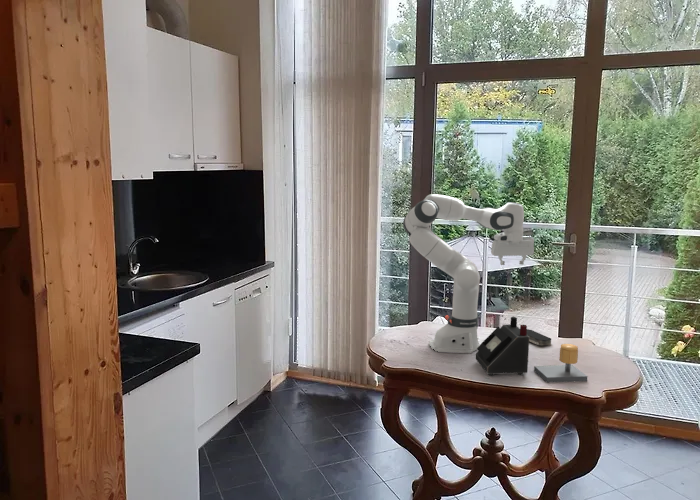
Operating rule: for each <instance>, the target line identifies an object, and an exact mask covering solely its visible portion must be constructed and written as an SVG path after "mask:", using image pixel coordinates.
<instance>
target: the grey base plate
mask: <svg viewBox="0 0 700 500" xmlns="http://www.w3.org/2000/svg"><path fill="white" fill-rule="evenodd" d="M533 371H534V372H535V374H537V375H538V377H541V378H542V379H543V380H544V381H545V382H546V383H569V382H570V383H572V382H574V381H575V382H587V381H588V375H587V374H585V373H584V372H583V371H581V370H580V369H579V368H577V367H576V366H575V365H574V364H571V368H570V372H567V371H565V364H554V365H534V368H533Z"/></svg>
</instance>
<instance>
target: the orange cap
mask: <svg viewBox="0 0 700 500" xmlns="http://www.w3.org/2000/svg"><path fill="white" fill-rule="evenodd" d="M578 348H579V347H578V346H577V345H575V344H573V343H562V344H561V345H560V347H559V357H558V358H559V361H560V362H561V363H563V364H565V363H567V364H571V365H574V364H575V365H576V364H577V363H578V359H579V349H578Z"/></svg>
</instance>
